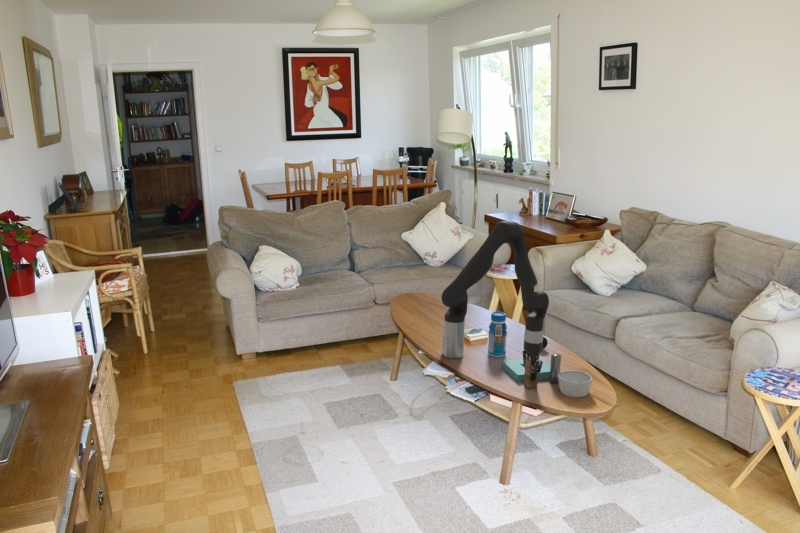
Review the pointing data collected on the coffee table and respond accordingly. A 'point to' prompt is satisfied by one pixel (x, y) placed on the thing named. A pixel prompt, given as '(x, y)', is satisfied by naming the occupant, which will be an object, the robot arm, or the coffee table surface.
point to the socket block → (518, 369)
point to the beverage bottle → (497, 335)
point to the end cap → (544, 343)
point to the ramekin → (574, 383)
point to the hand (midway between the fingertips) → (531, 378)
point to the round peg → (555, 368)
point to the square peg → (529, 376)
